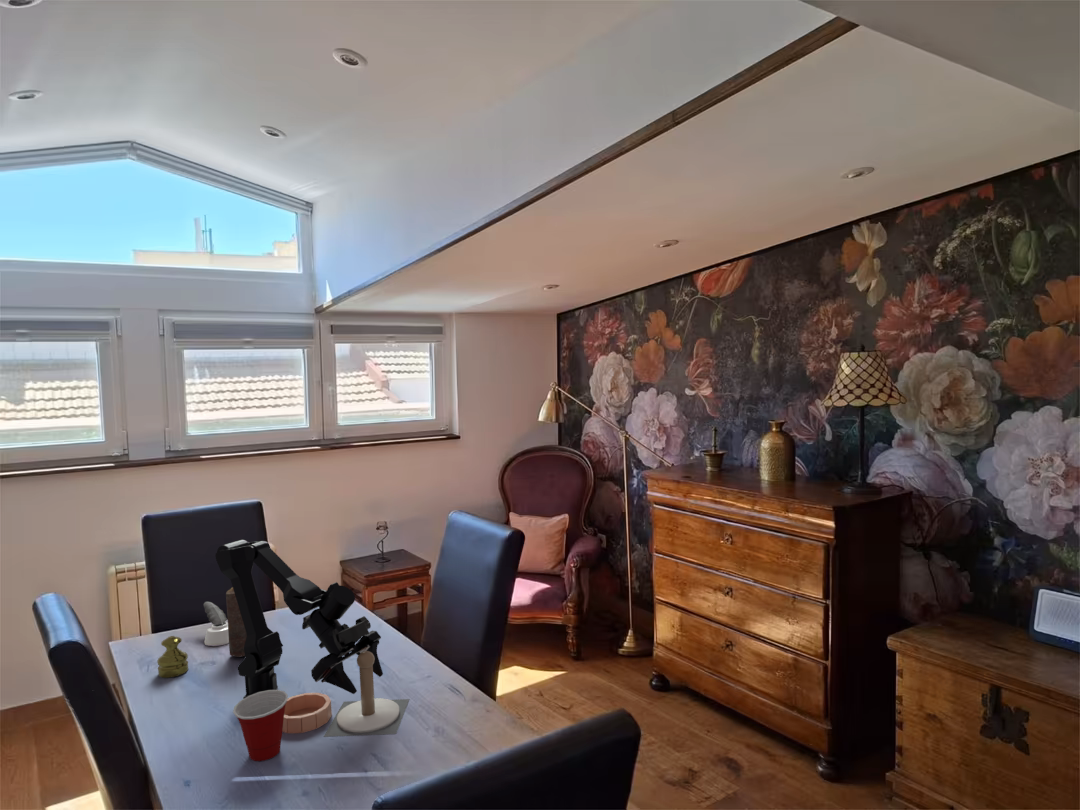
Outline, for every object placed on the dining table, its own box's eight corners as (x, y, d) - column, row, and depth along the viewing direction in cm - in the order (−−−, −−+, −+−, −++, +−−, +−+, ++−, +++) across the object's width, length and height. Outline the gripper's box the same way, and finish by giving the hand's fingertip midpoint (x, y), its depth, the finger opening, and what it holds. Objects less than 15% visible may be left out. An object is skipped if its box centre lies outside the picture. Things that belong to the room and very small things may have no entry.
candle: (246, 661, 196) (242, 591, 195) (223, 660, 198) (219, 591, 197) (262, 650, 204) (258, 583, 203) (240, 649, 205) (236, 582, 204)
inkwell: (211, 649, 206) (209, 616, 206) (188, 634, 218) (186, 603, 218) (242, 639, 213) (240, 607, 212) (217, 626, 225) (215, 595, 225)
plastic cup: (226, 759, 146) (223, 704, 145) (274, 737, 154) (271, 684, 154) (252, 777, 139) (248, 719, 138) (301, 753, 147) (297, 698, 147)
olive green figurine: (167, 667, 194) (165, 632, 194) (194, 666, 194) (191, 631, 194) (152, 678, 187) (149, 642, 187) (179, 678, 187) (177, 641, 186)
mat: (323, 739, 153) (323, 736, 153) (343, 703, 169) (343, 701, 169) (396, 736, 153) (396, 733, 153) (409, 701, 169) (409, 699, 169)
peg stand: (329, 734, 154) (325, 665, 153) (346, 703, 168) (343, 640, 167) (392, 731, 154) (389, 663, 153) (404, 701, 168) (401, 638, 167)
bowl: (268, 736, 155) (267, 719, 155) (287, 710, 167) (286, 693, 166) (321, 734, 155) (320, 717, 155) (337, 708, 167) (336, 691, 167)
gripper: (317, 624, 153) (359, 680, 149) (372, 597, 170) (412, 647, 166) (293, 654, 157) (333, 710, 153) (349, 625, 174) (387, 674, 169)
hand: (368, 683), depth 160 cm, fingers open, 9 cm apart
